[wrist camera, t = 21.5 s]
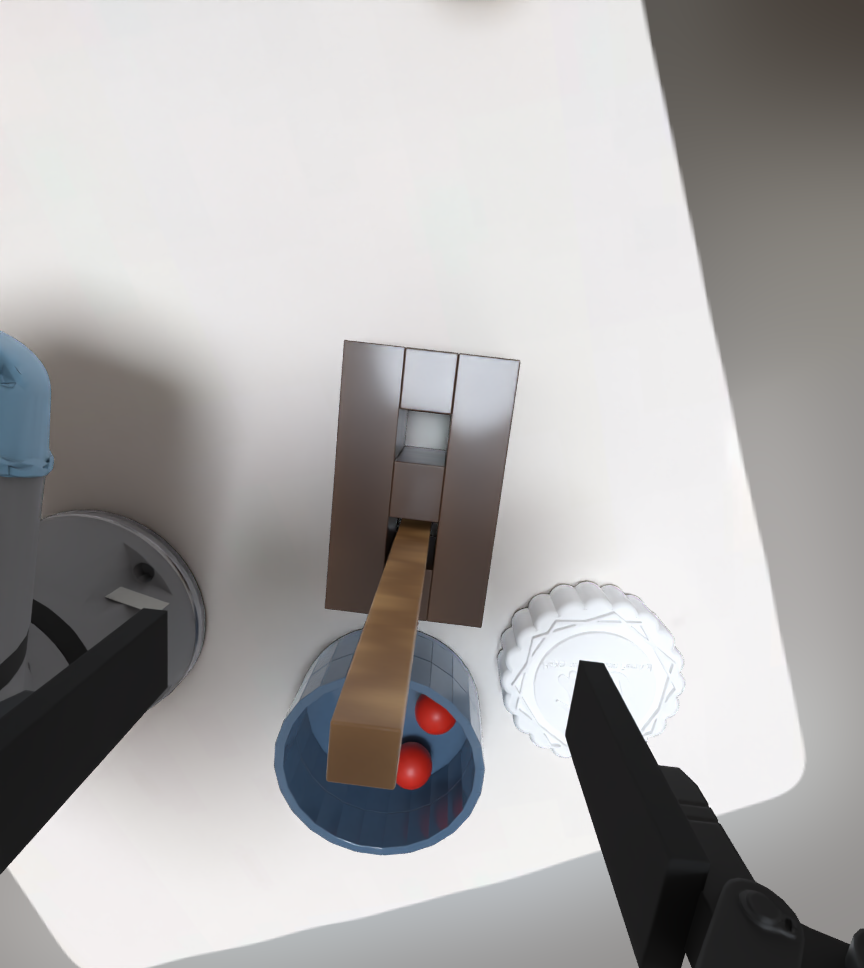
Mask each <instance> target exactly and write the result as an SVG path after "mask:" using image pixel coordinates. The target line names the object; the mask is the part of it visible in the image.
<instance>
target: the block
mask: <svg viewBox="0 0 864 968" xmlns="http://www.w3.org/2000/svg"><path fill="white" fill-rule="evenodd" d="M519 368H520V360H513V359H504V358H496V357H487V356H478V355H470V354H461V353H460V354H458V353H452V352H443V351H435V350H426V349H417V348H408V347H407V348H405V347H400V346H391V345H383V344H374V343H365V342H357V341H348V340H344V348H343V362H342V376H341V390H340V404H339V418H338V432H337V446H336V460H335V474H334V488H333V501H332V515H331V529H330V543H329V557H328V571H327V585H326V599H325V609H332V610H340V611H349V612H357V613H365V614H369V611H370V608H371V605H372V602H373V599H374V596H375V594H376V591H377V588H378V585H379V582H380V579H381V577H382V574H383V571H384V568H385V565H386V562H387V559H388V557H389V554H390V551H391V548H392V545H393V542H394V539H395V537H396V534H397V532H396V524H397V518H403V519H411V520H420V521H428V522H436V523H438V527H437V536H436V537H431V536H430V541H429V548H428V555H427V562H426V570H425V577H424V584H423V591H422V599H421V606H420V613H419V620H422V621H431V622H439V623H447V624H455V625H463V626H471V627H479V628H481V627H482V620H483V613H484V606H485V599H486V593H487V586H488V579H489V572H490V565H491V559H492V552H493V545H494V538H495V531H496V525H497V518H498V511H499V504H500V497H501V490H502V484H503V477H504V470H505V463H506V456H507V450H508V443H509V436H510V429H511V422H512V416H513V409H514V402H515V395H516V388H517V381H518V375H519ZM408 410H412V411H421V412H429V413H438V414H447V415H451V419H450V428H449V436H448V444H447V451H445V450H437V449H428V448H420V447H411V446H404V445H405V436H406V426H407V416H408Z"/></svg>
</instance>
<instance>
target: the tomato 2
mask: <svg viewBox="0 0 864 968" xmlns="http://www.w3.org/2000/svg"><path fill="white" fill-rule="evenodd" d="M415 717H416V720H417V723H418V725H419V726H420V727H421V728H422V729H423V730H424V731H425V732H427V733H429V734H432V735H441V734H444V733H446V732H448V731H449V730H450V729H451V728H452V727H453V726H454V724H455V722H456V720H455V719H454V717H453V716H452V715H451V714H450V713H449V712H448V711H447V709H445V708H444V707H442V706H441V705H439V704H438V703H436V702H435V701H434V700H432V699H431V698H429V697H428V696H426V695H424V694H421V695H420V696H419V698H418V700H417V702H416V705H415Z"/></svg>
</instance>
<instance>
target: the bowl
mask: <svg viewBox="0 0 864 968" xmlns="http://www.w3.org/2000/svg"><path fill="white" fill-rule="evenodd" d="M362 631H363V629H361V630H358V631H355V632H352V633H349V634H347V635H345V636H343V637H341V638H339V639H338V640H336V641H335V642H333V643H332V644H331V645H329V646H328V647H327V648H326V649H325V650H324V651H323V652H322V653H321V654H320V655H319V656H318V657H317V658H316V660H315V661H314V663H313V664H312V666H311V668H310V669H309V671H308V672H307V674H306V676H305V678H304V680H303V682H302V685H301V687H300V689H299V691H298V693H297V695H296V697H295V699H294V701H293V703H292V705H291V707H290V709H289V711H288V713H287V715H286V717H285V719H284V721H283V724H282V726H281V729H280V732H279V734H278V737H277V740H276V743H275V759H274V768H275V772H276V776H277V780H278V784H279V788H280V791H281V793H282V794H283V796H284V798H285V800H286V801H287V803H288V805H289V807H290V808H291V810H292V811H293V813H294V814H295V815H296V816H297V817H298V818H299V819H300V820H301V821H302V822H303V823H304V824H305V825H306V826H307V827H308V828H309V829H310V830H312V831H313V832H315V833H316V834H318V835H320V836H321V837H323V838H324V839H326V840H327V841H329V842H331V843H333V844H336V845H339V846H341V847H344V848H347V849H350V850H352V851H355V852H356V851H357V852H361V853H368V854H376V855H393V854H405V853H408V852H409V853H411V852H414V851H417V850H420V849H423V848H426V847H429V846H432V845H435V844H436V843H438V842H439V841H441V840H443V839H444V838H446V837H447V836H449V835H451V834H452V833H454V832H455V831H456V830H457V829H458V828H459V827H460V826H461V824H462V823H463V822H464V821H465V820H466V819H467V818H468V817H469V816H470V814H471V813H472V811H473V809H474V806H475V804H476V802H477V800H478V798H479V796H480V794H481V791H482V785H483V778H484V772H485V765H484V753H483V740H482V728H481V715H480V708H479V698H478V694H477V689H476V686H475V683H474V681H473V678H472V676H471V674H470V673H469V671H468V669H467V667H466V666H465V665H464V663H463V662H462V661H461V659H460V658H459V657H458V656H457V655H456V654H455V653H454V652H453V651H452V650H451V649H449V648H448V647H447V646H446V645H444V644H443V643H441V642H440V641H438V640H436V639H435V638H433V637H431V636H429V635H427V634H424V633H422V632H419V631H417V635H416V642H415V649H414V656H413V664H412V671H411V678H410V685H409V693H408V700H407V707H406V714H405V721H404V729H403V736H402V743H401V745H402V744H404V743H406V742H417V743H420V744H422V745H423V746H424V747H425V748H426V749H427V750H428V752H429V753H430V756H431V759H432V772H431V775H430V777H429V779H428V781H427V782H426V783H425V784H424V785H423V786H421V787H420V788H418V789H414V790H408V789H404V788H402V787H400V786H399V785H398V784H397V783H396V787H395V788H394V789H393V790H390V789H382V788H374V787H366V786H358V785H351V784H343V783H335V782H328V781H327V780H326V771H327V758H328V746H329V733H330V722H331V719H332V716H333V713H334V710H335V708H336V705H337V702H338V699H339V696H340V693H341V690H342V688H343V685H344V682H345V679H346V676H347V673H348V671H349V668H350V665H351V662H352V659H353V656H354V653H355V651H356V648H357V645H358V642H359V639H360V636H361V634H362ZM421 694H424V695H426V696H428V697H429V698H431V699H432V700H434V701H435V702H436V703H438V704H439V705H441V706H442V707H444V708H445V709H447V711H448V712H449V713H450V714H451V715H452V716H453V717H454V719H455V720H456V722H455V724H454V726H453V727H452V728H451V729H450V730H449V731H448V732H446V733H444V734H441V735H432V734H429V733H427V732H425V731H424V730H423V729H422V728H421V727H420V726H419V725H418V723H417V720H416V717H415V705H416V702H417V700H418V698H419V696H420V695H421Z"/></svg>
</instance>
